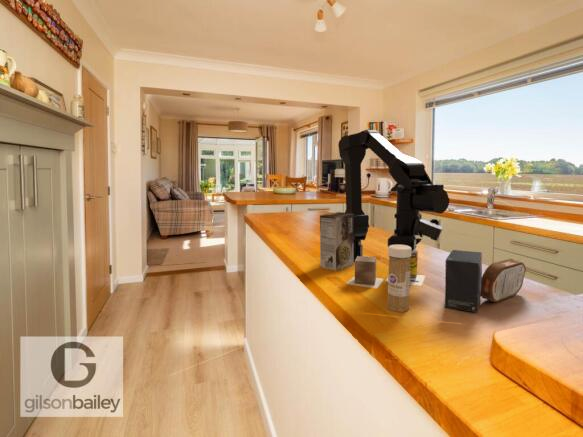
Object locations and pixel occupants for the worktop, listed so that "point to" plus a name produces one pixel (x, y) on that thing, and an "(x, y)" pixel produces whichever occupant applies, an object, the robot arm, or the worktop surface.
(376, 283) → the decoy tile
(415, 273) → the supplement bottle
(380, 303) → the worktop surface
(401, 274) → the sprinkles bottle
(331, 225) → the coffee box
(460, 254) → the small box
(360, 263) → the walnut block
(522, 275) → the tin
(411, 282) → the label tile
